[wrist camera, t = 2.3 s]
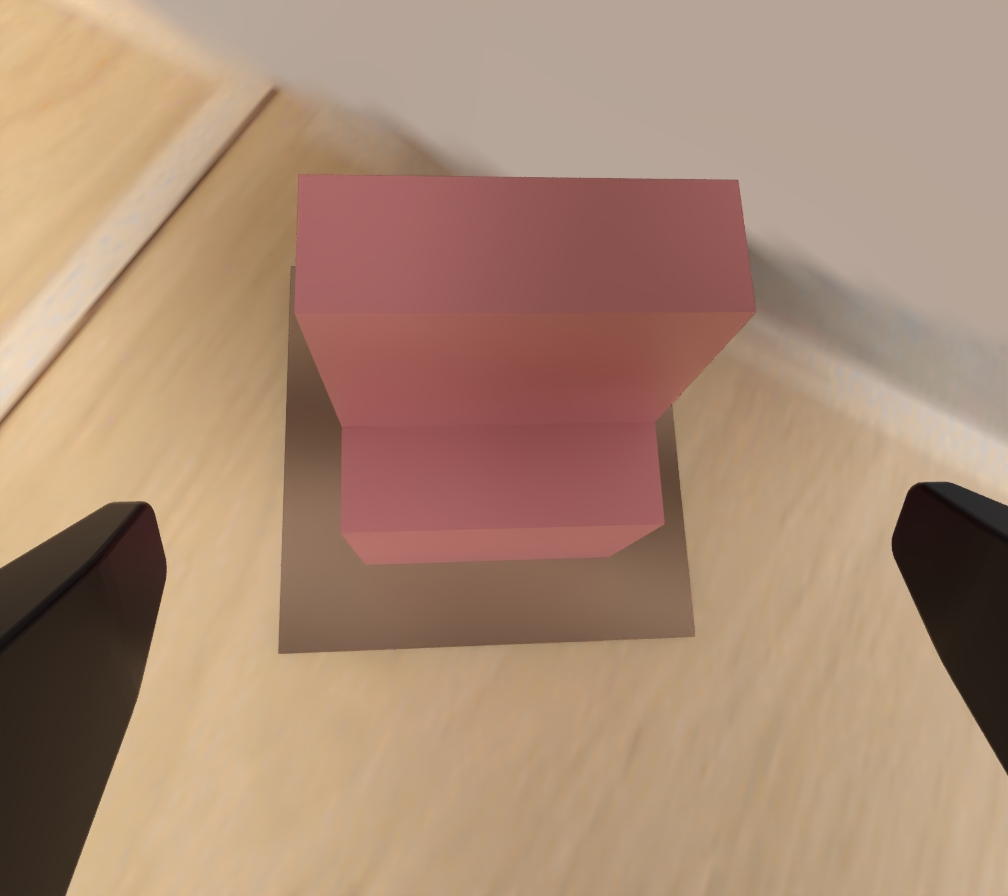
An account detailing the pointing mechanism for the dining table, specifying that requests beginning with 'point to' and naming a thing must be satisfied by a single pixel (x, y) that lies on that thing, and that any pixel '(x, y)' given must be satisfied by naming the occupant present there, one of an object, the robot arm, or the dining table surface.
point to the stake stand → (455, 585)
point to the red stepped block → (511, 351)
